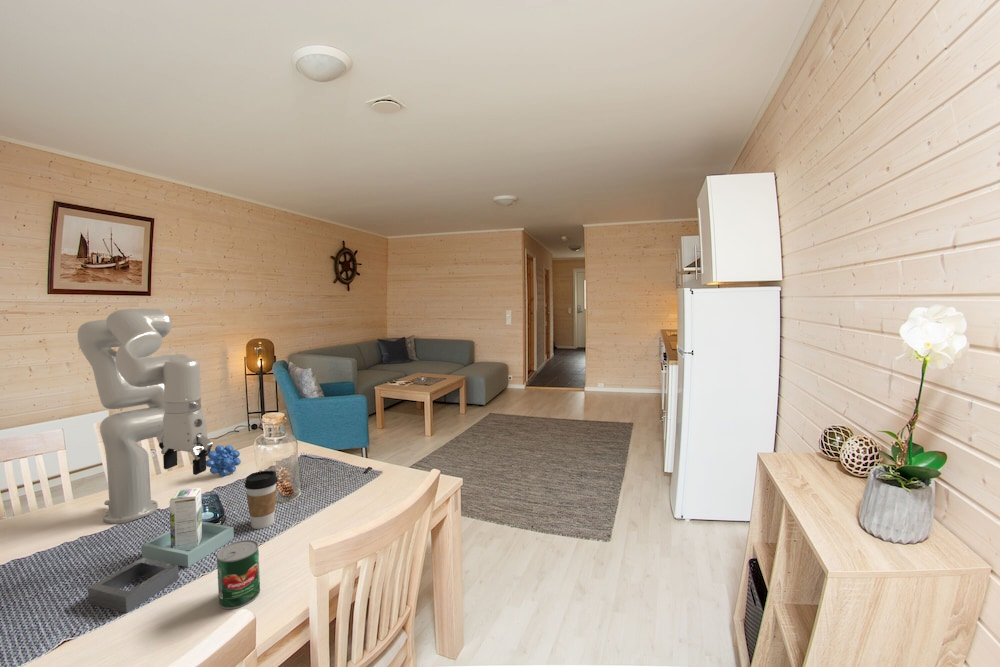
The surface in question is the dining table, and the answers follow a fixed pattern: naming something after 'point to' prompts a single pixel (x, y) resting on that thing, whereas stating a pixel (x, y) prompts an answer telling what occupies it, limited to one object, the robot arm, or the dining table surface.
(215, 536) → the tray
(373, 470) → the dining table surface
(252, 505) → the coffee cup
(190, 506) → the syrup box
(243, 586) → the canned tomato
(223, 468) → the grapes
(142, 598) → the collar
